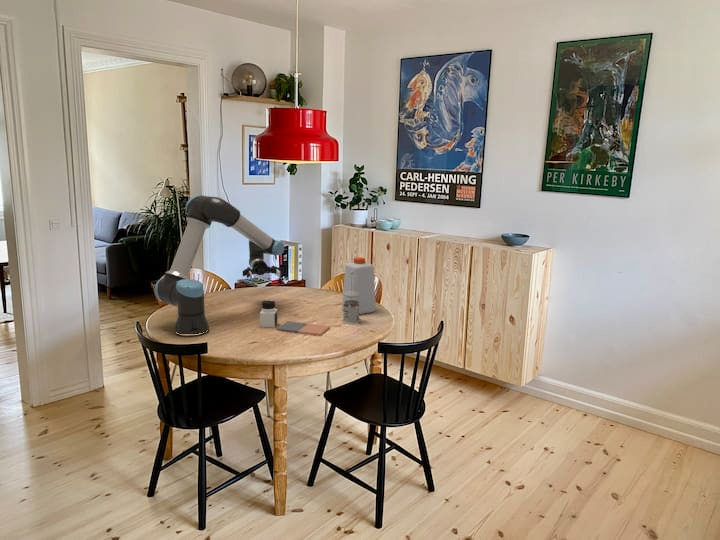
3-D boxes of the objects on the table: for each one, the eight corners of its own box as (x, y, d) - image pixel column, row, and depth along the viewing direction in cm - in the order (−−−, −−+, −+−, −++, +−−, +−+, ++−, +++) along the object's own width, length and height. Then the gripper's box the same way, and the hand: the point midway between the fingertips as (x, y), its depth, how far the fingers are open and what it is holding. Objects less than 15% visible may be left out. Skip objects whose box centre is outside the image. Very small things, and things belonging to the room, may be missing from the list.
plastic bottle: (362, 305, 297) (363, 254, 291) (378, 312, 284) (379, 259, 278) (339, 309, 289) (339, 257, 283) (354, 316, 276) (354, 262, 270)
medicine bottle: (275, 327, 257) (274, 303, 254) (259, 327, 257) (259, 302, 254) (277, 323, 264) (277, 299, 261) (262, 322, 264) (262, 298, 261)
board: (320, 336, 246) (320, 333, 245) (276, 330, 252) (276, 328, 252) (330, 328, 257) (330, 326, 257) (287, 323, 264) (287, 321, 263)
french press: (343, 324, 262) (344, 274, 257) (338, 317, 273) (338, 269, 268) (363, 323, 265) (364, 273, 260) (357, 316, 276) (357, 268, 271)
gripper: (283, 272, 289) (291, 281, 270) (235, 275, 282) (239, 285, 262) (282, 258, 288) (290, 266, 268) (234, 261, 280) (239, 269, 260)
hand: (265, 275), depth 265 cm, fingers open, 13 cm apart
